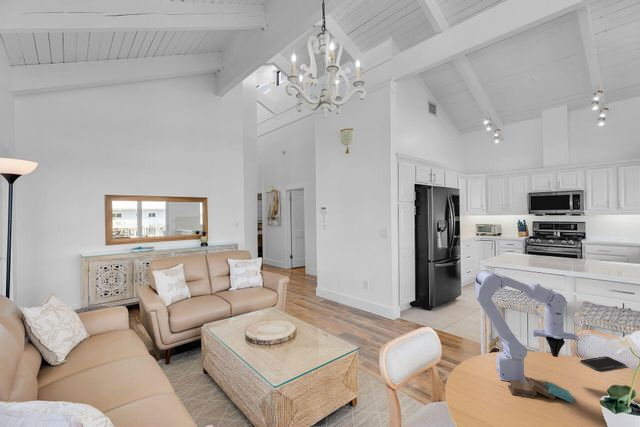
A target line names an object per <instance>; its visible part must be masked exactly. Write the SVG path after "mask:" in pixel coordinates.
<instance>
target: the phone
mask: <svg viewBox="0 0 640 427" xmlns="http://www.w3.org/2000/svg"><path fill="white" fill-rule="evenodd" d="M579 362H580V363H581V365H584V366H585V367H588V368H590V369H592V370H594V371H596V372H604V371H610V370H611V371H612V370H619V369H622V368H626V366H627V364H626V363H624V362H622V361H619V360H617V359H614V358H612V357H609V356H606V355H604V356H599V357H593V358H592V357H591V358H586V359H581V360H580V361H579Z"/></svg>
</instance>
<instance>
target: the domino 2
mask: <svg viewBox="0 0 640 427" xmlns="http://www.w3.org/2000/svg"><path fill="white" fill-rule="evenodd" d="M507 388H508V390H509V391H510V393H511V395H512V396H517V397H523V398H524V397H525V398H533V399H535V395H529V394H523V393H516V392H514V391H513V389H512V387H511V384H508V385H507Z"/></svg>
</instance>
